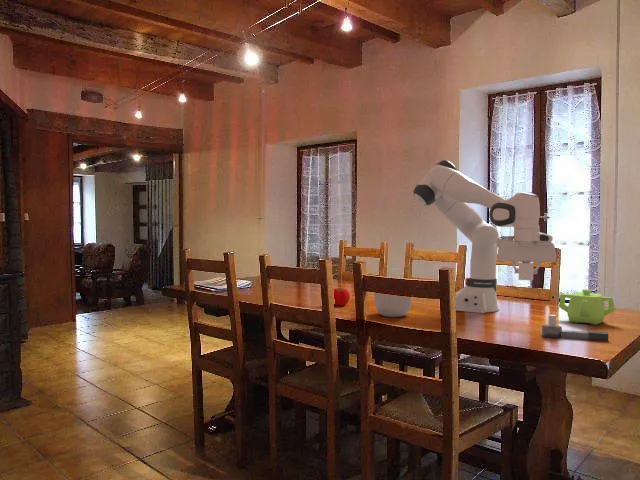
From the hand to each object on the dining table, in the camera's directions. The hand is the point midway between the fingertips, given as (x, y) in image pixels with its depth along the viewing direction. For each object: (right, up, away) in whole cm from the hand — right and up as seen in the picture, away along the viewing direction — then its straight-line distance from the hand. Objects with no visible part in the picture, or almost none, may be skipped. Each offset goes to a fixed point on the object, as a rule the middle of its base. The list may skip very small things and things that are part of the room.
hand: (525, 273), depth 195 cm
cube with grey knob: (0, -2, 0) cm, 2 cm away
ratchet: (+12, -22, -11) cm, 27 cm away
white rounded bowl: (-45, -20, +30) cm, 58 cm away
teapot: (+29, -21, +14) cm, 39 cm away
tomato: (-67, -19, +55) cm, 88 cm away
